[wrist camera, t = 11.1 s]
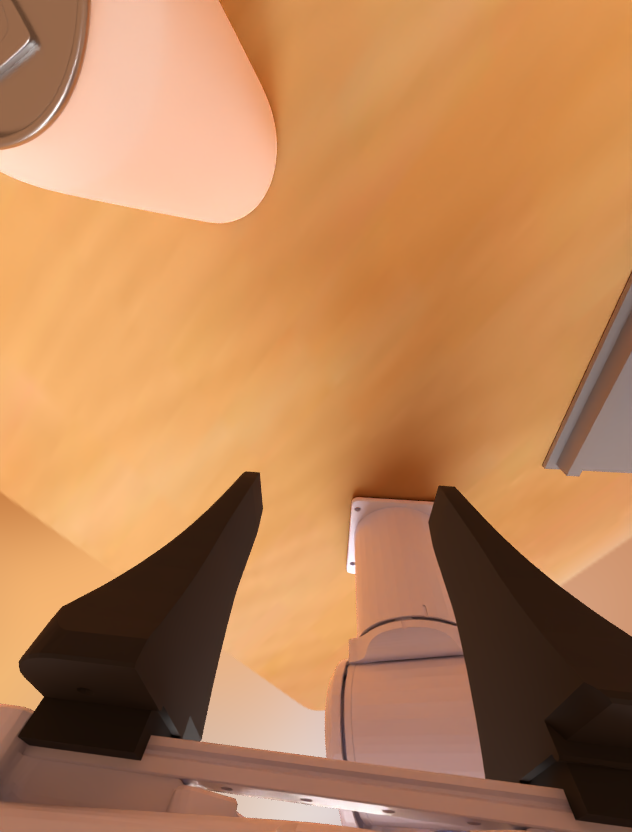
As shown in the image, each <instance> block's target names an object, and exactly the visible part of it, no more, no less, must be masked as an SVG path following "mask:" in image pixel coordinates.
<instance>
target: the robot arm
mask: <svg viewBox="0 0 632 832" xmlns="http://www.w3.org/2000/svg"><path fill="white" fill-rule="evenodd" d="M356 507H360V508H356ZM262 510H263V505H262V493H261V482H260V473H258V472H244V473H243V474H242V475H241V476H240V477H239V478H238V479H237V480H236V481H235V483H234V484H233V485H232V486H231V487H230V488H229V489H228V490H227V491H226V492H225V493H224V494H223V495H222V496H221V497H220V498H219V499H218V500H217V501H216V502H215V503H214V504H213V505H212V506H211V507H210V508H209V509H208V510H207V511H206V512H205V513H204V514H203V515H202V516H200V517H199V518H198V519H197V520H196V521H195V522H194V523H193V524H192V525H190V526H189V527H188V528H187V529H186V530H185V531H183V532H182V533H181V534H180V535H178V536H177V537H176V538H175V539H173V540H172V541H171V542H169V543H168V544H167V545H165V546H164V547H163V548H161V549H160V550H158V551H157V552H156V553H154V554H153V555H151V556H150V557H148V558H147V559H145V560H144V561H142V562H141V563H139V564H138V565H136V566H135V567H133V568H131V569H130V570H128V571H127V572H125V573H123V574H122V575H120V576H118V577H117V578H115V579H113V580H112V581H110V582H108V583H107V584H105V585H103V586H101V587H99V588H97V589H95V590H94V591H92V592H90V593H88V594H86V595H84V596H82V597H80V598H78V599H76V600H75V601H73V602H71V603H69V604H67V605H65V606H63V607H62V608H61V609H60V610H59V611H58V612H57V613H56V615H55V616H54V617H53V618H52V619H51V621H50V622H49V623H48V624H47V626H46V627H45V628H44V629H43V631H42V632H41V633H40V635H39V636H38V637H37V638H36V640H35V641H34V642H33V643H32V645H31V646H30V647H29V649H28V650H27V651H26V652H25V654H24V655H23V656H22V658H21V659H20V661H19V668H20V672H21V673H22V675H23V676H24V677H25V678H26V679H27V680H28V681H29V682H30V683H31V684H32V685H33V686H34V687H35V688H36V689H37V690H38V691H39V692H40V693H41V694H42V695H43V696H44V698H43V699H42V701H41V702H40V704H39V705H38V707H37V708H36V710H35V711H33V710H31V709H28V708H25V707H20V706H14V705H6V704H0V832H632V637H631V636H630V635H628V634H627V633H625V632H624V631H622V630H621V629H619V628H618V627H616V626H615V625H613V624H612V623H610V622H609V621H607V620H606V619H604V618H603V617H601V616H600V615H599V614H597V613H596V612H594V611H593V610H591V609H590V608H589V607H587V606H586V605H584V604H583V603H582V602H580V601H579V600H578V599H576V598H575V597H574V596H572V595H571V594H569V593H568V592H567V591H565V590H564V589H563V588H561V587H560V586H559V585H558V584H556V583H555V582H554V581H552V580H551V579H550V578H549V577H548V576H546V575H545V574H544V573H543V572H541V571H540V570H539V569H538V568H537V567H535V566H534V565H533V564H532V563H531V562H529V561H528V560H527V559H526V558H525V557H524V556H523V555H522V554H520V553H519V552H518V551H517V550H516V549H515V548H514V547H513V546H512V545H511V544H510V543H509V542H507V541H506V540H505V539H504V538H503V537H502V536H501V535H500V534H499V533H498V532H497V531H496V530H495V529H494V528H493V527H492V526H491V525H490V524H489V523H488V522H487V521H486V520H485V519H484V518H483V517H482V515H481V514H480V513H479V512H478V511H477V510H476V509H475V508H474V507H473V506H472V505H471V504H470V503H469V502H468V501H467V499H466V498H465V497H464V496H463V495H462V494H461V493H460V492H459V491H458V490H457V489H456V488H455V487H449V486H439V487H438V490H437V494H436V497H435V500H434V502H428V501H412V500H395V499H379V498H363V497H356V498H354V499H353V500H352V505H351V517H350V530H349V542H348V554H347V572H349V573H354V574H355V578H356V608H357V638H353V639H350V640H349V659H343V660H341V661H340V662H339V663H338V665H337V667H336V669H335V672H334V674H333V675H332V677H331V680H330V683H329V687H328V691H327V698H326V709H325V744H326V757H327V758H322V757H314V756H306V755H299V754H290V753H283V752H276V751H268V750H260V749H253V748H245V747H238V746H230V745H222V744H215V743H207V742H200V741H201V739H202V735H203V729H204V725H205V720H206V715H207V711H208V705H209V701H210V697H211V692H212V687H213V683H214V678H215V674H216V670H217V666H218V661H219V657H220V652H221V649H222V645H223V641H224V637H225V633H226V628H227V624H228V621H229V617H230V613H231V609H232V605H233V601H234V598H235V594H236V591H237V588H238V585H239V582H240V579H241V577H242V574H243V571H244V568H245V566H246V563H247V560H248V557H249V555H250V552H251V549H252V546H253V543H254V541H255V538H256V535H257V532H258V528H259V524H260V519H261V515H262ZM208 790H209V791H208ZM211 791H216V792H223V793H230V794H237V795H245V796H251V797H258V798H265V799H273V800H280V801H287V802H294V803H301V804H308V805H315V806H322V807H329V808H336V809H339V813H340V818H341V823H342V826H338V825H329V824H320V823H311V822H299V821H286V820H272V819H257V818H245V817H243V816H242V815H241V814H239V813H238V812H237V811H236V810H237V805H238V804H237V801H236V799H234V798H231V797H228V796H224V795H221V794H218V793H214V792H211Z"/></svg>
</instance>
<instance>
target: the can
mask: <svg viewBox="0 0 632 832" xmlns="http://www.w3.org/2000/svg"><path fill="white" fill-rule="evenodd" d="M276 157H277V136H276V128H275V122H274V118H273V114H272V111H271V107H270V104H269V102H268V99H267V96H266V94H265V92H264V90H263V88H262V85H261V83H260V81H259V79H258V77H257V75H256V73H255V71H254V69H253V67H252V65H251V63H250V61H249V59H248V57H247V55H246V53H245V51H244V49H243V47H242V45H241V43H240V41H239V39H238V37H237V35H236V33H235V31H234V29H233V27H232V25H231V23H230V22H229V20H228V18H227V16H226V14H225V12H224V10H223V8H222V6H221V4H220V2H219V0H0V172H2V173H4V174H6V175H8V176H10V177H12V178H15V179H17V180H20V181H22V182H25V183H28V184H31V185H34V186H37V187H40V188H44V189H47V190H51V191H56V192H60V193H64V194H68V195H73V196H78V197H82V198H87V199H92V200H97V201H101V202H106V203H111V204H116V205H121V206H126V207H131V208H136V209H141V210H146V211H152V212H157V213H162V214H167V215H172V216H177V217H182V218H188V219H193V220H199V221H204V222H211V223H228V222H232V221H236V220H238V219H241V218H243V217H244V216H246V215H247V214H249V213H250V212H251V211H253V210H254V209H255V208H256V207H257V206H258V204H259V203H260V202H261V201H262V199H263V198H264V196H265V194H266V192H267V191H268V188H269V186H270V184H271V181H272V178H273V174H274V170H275V165H276Z"/></svg>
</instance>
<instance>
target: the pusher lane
mask: <svg viewBox="0 0 632 832" xmlns="http://www.w3.org/2000/svg"><path fill="white" fill-rule="evenodd" d="M543 467H544V468H545V469H561V470H562V471H563V472H564V473H565V474H566V475H567V476H580V474H581V472H582V470H583V471H602V472H621V473H632V274H631V276H630V278H629V280H628V282H627V284H626V287H625V289H624V291H623V293H622V295H621V297H620V300H619V302H618V304H617V306H616V308H615V310H614V312H613V315H612V317H611V319H610V321H609V323H608V325H607V328H606V330H605V332H604V334H603V336H602V338H601V340H600V343H599V345H598V347H597V349H596V351H595V353H594V356H593V358H592V360H591V362H590V364H589V366H588V369H587V371H586V373H585V375H584V377H583V379H582V381H581V384H580V386H579V388H578V390H577V392H576V394H575V397H574V399H573V401H572V403H571V405H570V407H569V410H568V412H567V414H566V416H565V418H564V420H563V422H562V425H561V427H560V429H559V431H558V433H557V435H556V438H555V440H554V442H553V444H552V446H551V448H550V450H549V453H548V455H547V457H546V459H545V461H544V463H543Z"/></svg>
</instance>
